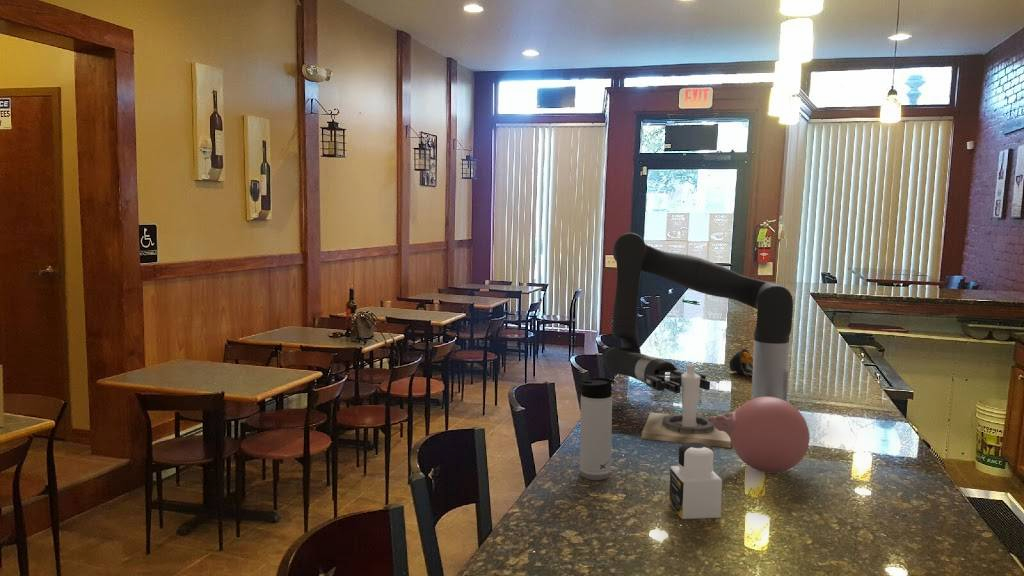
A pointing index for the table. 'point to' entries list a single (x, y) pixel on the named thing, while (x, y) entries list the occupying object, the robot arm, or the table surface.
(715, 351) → the table surface
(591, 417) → the travel mug
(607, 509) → the table surface
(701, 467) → the medicine bottle
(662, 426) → the hub board
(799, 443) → the balloon
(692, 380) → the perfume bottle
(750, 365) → the black and orange lump
